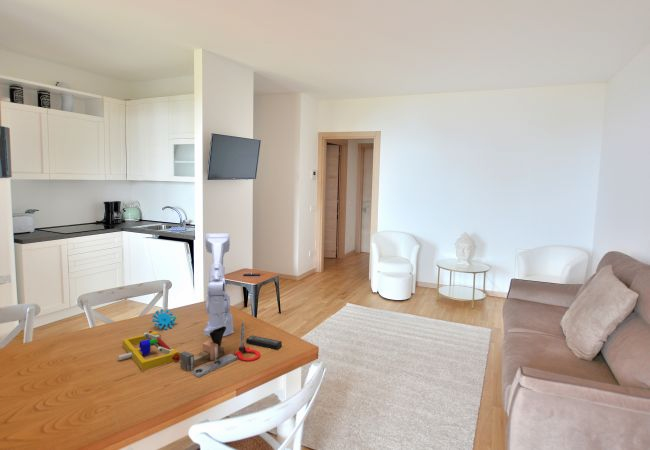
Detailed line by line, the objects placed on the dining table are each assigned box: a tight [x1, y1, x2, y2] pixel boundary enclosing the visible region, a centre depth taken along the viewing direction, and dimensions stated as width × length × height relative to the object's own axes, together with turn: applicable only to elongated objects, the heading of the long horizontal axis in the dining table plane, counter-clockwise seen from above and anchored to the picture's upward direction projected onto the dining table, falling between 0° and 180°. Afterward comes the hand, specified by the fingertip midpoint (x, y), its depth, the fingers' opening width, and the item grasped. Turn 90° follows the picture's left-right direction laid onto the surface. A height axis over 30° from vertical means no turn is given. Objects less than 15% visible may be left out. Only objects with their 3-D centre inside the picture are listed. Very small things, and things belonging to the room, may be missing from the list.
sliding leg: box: [202, 340, 219, 361], centre depth 149 cm, size 3×6×5 cm, turn 54°
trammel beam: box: [179, 345, 225, 372], centre depth 146 cm, size 17×6×5 cm, turn 144°
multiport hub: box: [245, 334, 283, 351], centre depth 162 cm, size 4×14×2 cm, turn 68°
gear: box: [152, 308, 178, 331], centre depth 178 cm, size 11×6×10 cm
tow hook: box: [233, 321, 261, 363], centre depth 150 cm, size 8×13×9 cm
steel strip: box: [191, 353, 238, 378], centre depth 143 cm, size 17×4×1 cm, turn 144°
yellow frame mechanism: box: [117, 330, 181, 371], centre depth 151 cm, size 18×6×30 cm
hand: (217, 346), depth 151 cm, fingers closed
